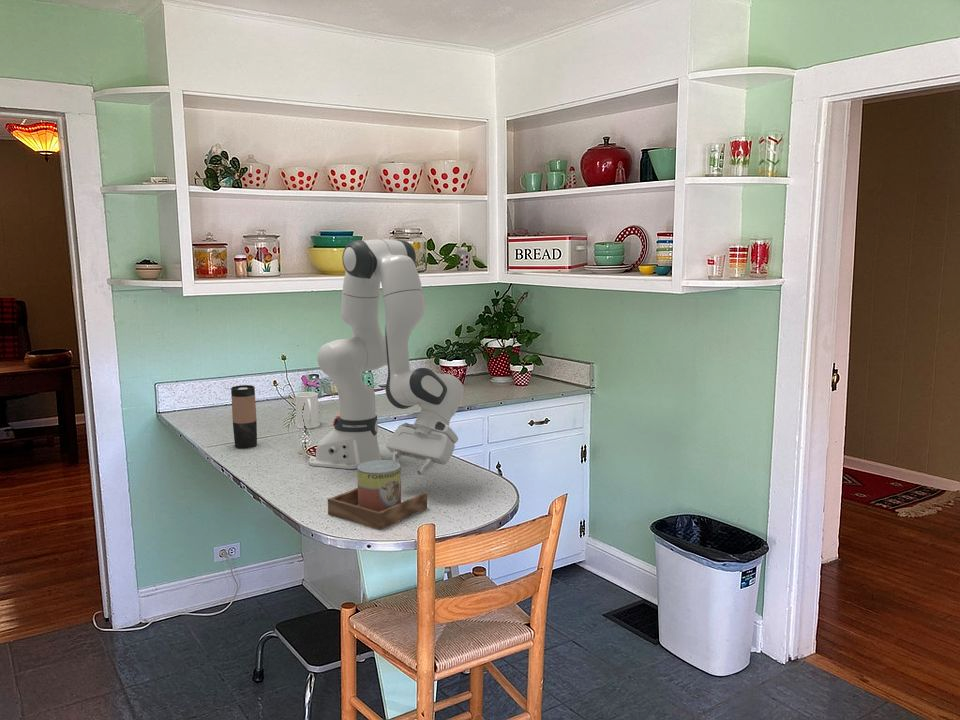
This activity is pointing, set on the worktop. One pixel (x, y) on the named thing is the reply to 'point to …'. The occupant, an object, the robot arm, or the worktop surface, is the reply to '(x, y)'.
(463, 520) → the worktop surface
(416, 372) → the robot arm
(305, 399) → the mug
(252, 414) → the travel mug
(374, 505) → the canned food
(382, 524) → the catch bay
